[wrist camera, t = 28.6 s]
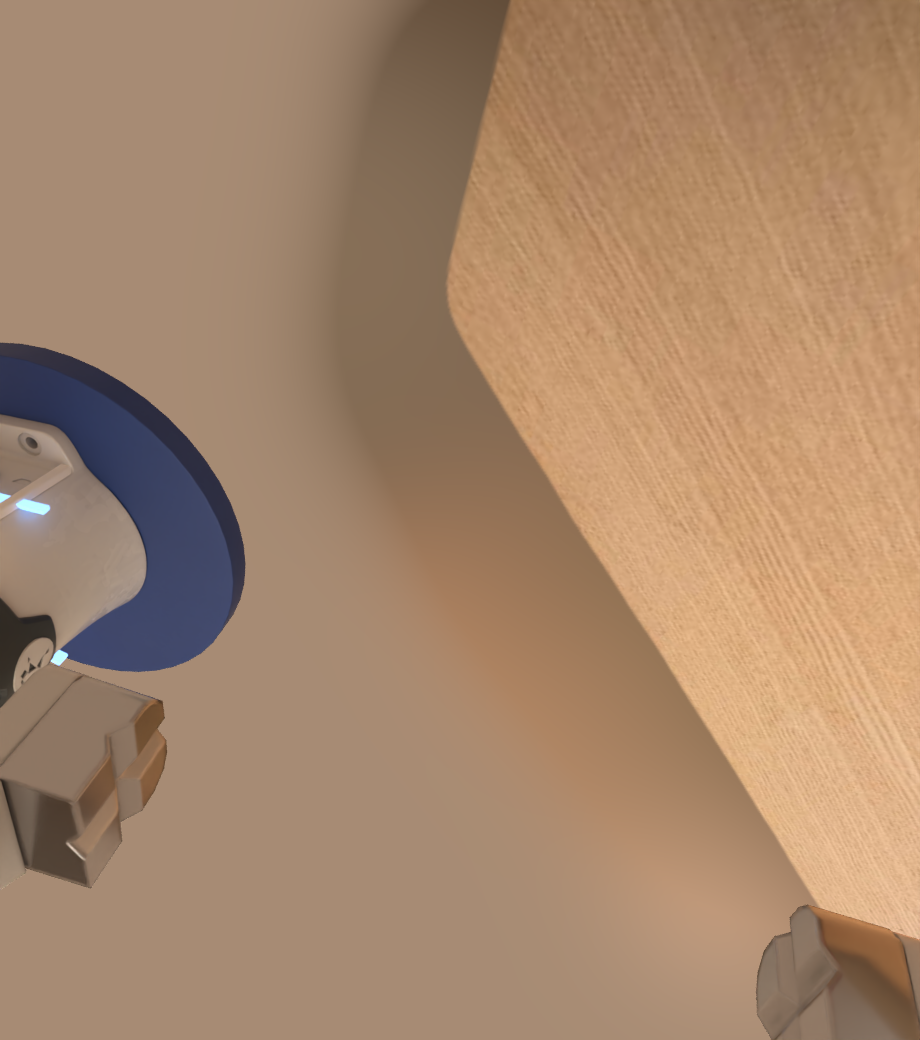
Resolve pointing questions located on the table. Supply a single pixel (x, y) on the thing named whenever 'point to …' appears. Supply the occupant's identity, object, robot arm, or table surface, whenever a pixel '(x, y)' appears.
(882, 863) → the table surface
